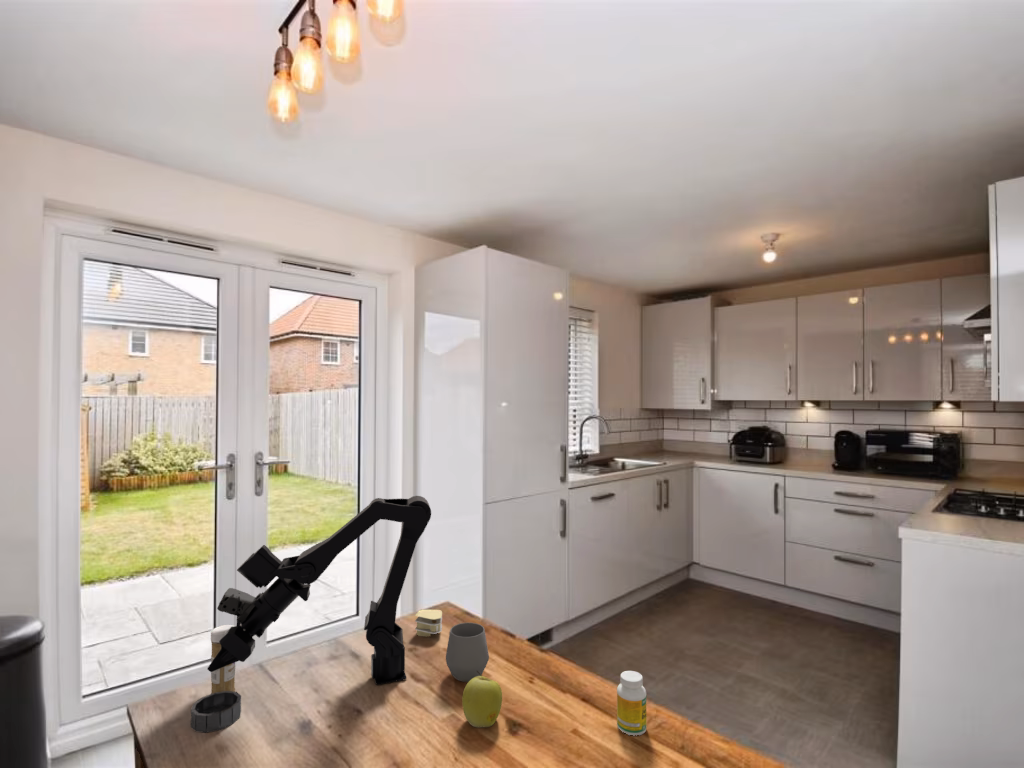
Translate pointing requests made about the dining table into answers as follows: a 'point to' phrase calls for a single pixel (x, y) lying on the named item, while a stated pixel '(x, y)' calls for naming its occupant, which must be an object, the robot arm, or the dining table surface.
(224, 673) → the sprinkles bottle
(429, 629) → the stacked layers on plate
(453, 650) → the cup
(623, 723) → the supplement bottle
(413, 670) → the dining table surface
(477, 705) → the apple
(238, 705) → the bottle holder
